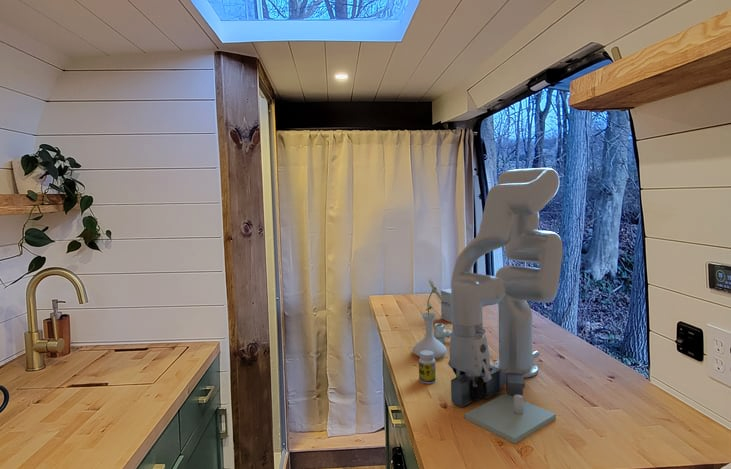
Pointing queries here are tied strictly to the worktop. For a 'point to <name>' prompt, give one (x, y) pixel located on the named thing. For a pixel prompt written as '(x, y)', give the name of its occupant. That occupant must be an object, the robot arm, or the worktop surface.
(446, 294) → the supplement box
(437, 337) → the valve
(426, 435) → the worktop surface
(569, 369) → the worktop surface
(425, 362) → the supplement bottle
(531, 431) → the board
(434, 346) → the flower in vase
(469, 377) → the link
